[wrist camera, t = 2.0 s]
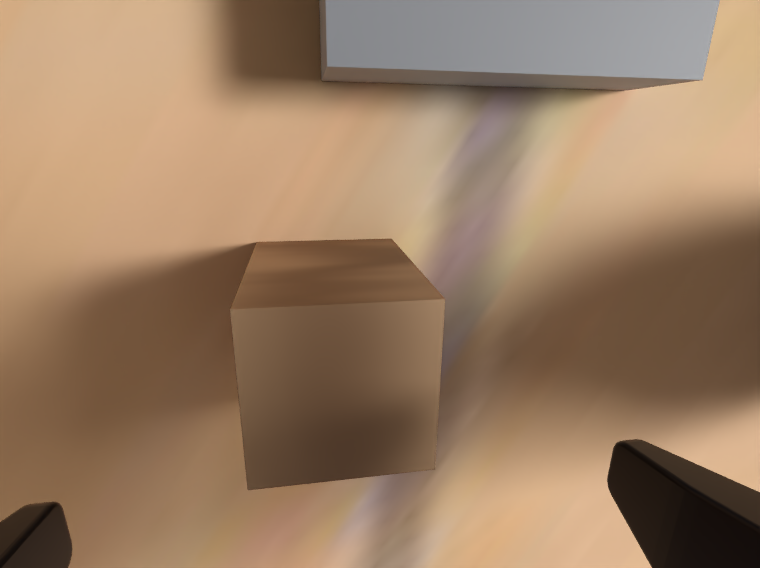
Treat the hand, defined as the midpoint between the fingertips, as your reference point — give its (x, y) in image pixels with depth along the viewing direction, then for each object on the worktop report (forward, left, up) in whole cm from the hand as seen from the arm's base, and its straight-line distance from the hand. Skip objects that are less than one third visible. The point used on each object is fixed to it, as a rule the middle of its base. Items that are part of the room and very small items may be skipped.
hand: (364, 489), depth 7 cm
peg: (0, 0, -9) cm, 9 cm away
